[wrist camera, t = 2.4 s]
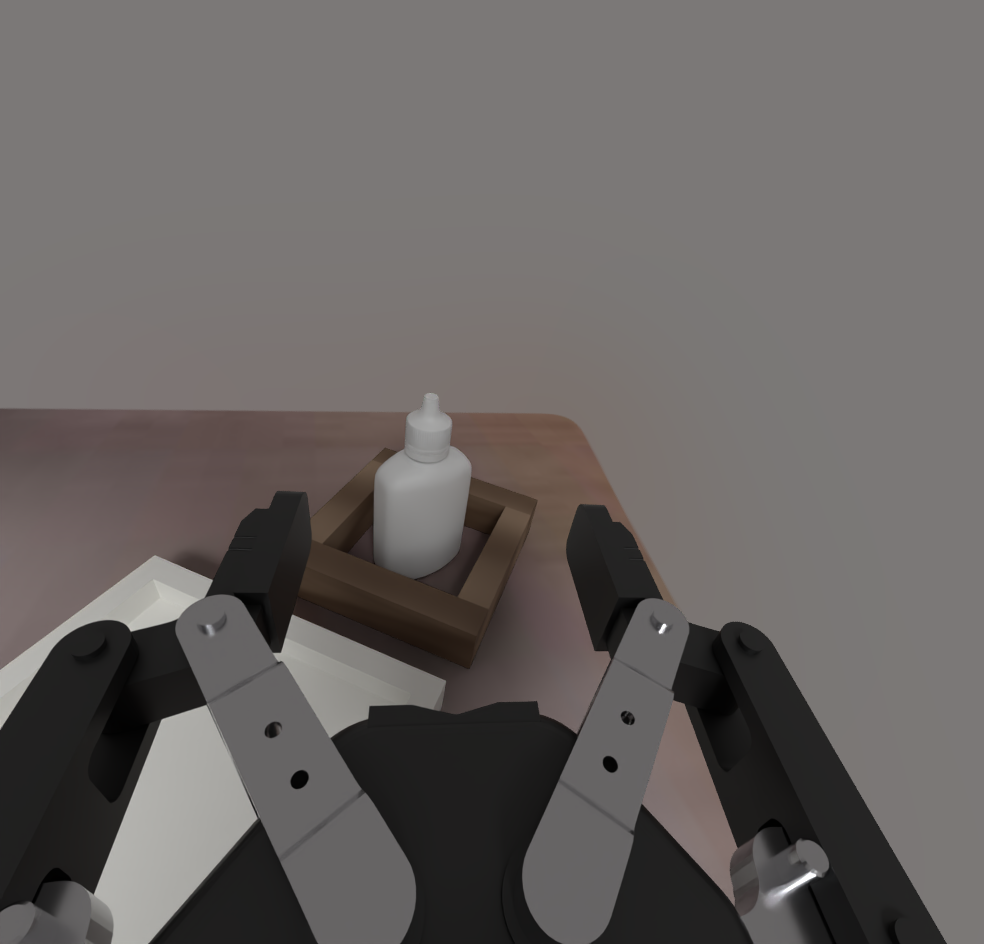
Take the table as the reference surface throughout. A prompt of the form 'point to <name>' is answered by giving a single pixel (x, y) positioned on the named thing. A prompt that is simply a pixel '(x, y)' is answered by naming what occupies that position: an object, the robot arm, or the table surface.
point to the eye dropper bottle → (421, 497)
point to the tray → (207, 745)
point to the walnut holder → (402, 600)
